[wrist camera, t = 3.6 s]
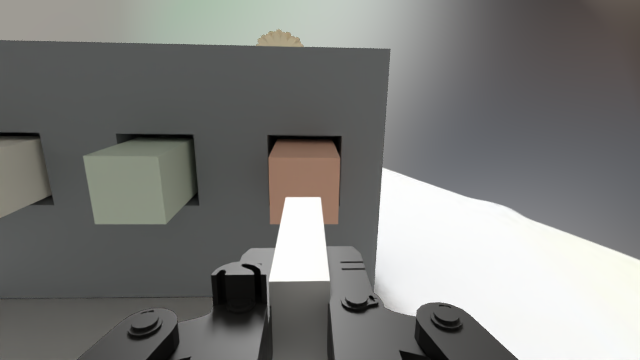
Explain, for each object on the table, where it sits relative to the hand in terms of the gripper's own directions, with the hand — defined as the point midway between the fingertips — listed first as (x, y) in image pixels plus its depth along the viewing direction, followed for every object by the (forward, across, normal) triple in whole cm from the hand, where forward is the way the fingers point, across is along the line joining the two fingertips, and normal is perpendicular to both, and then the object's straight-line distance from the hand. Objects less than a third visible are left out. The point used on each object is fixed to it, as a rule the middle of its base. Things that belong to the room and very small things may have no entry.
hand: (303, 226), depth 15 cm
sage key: (+10, -11, -3) cm, 15 cm away
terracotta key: (+10, 0, -3) cm, 11 cm away
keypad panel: (+16, -11, -11) cm, 22 cm away
